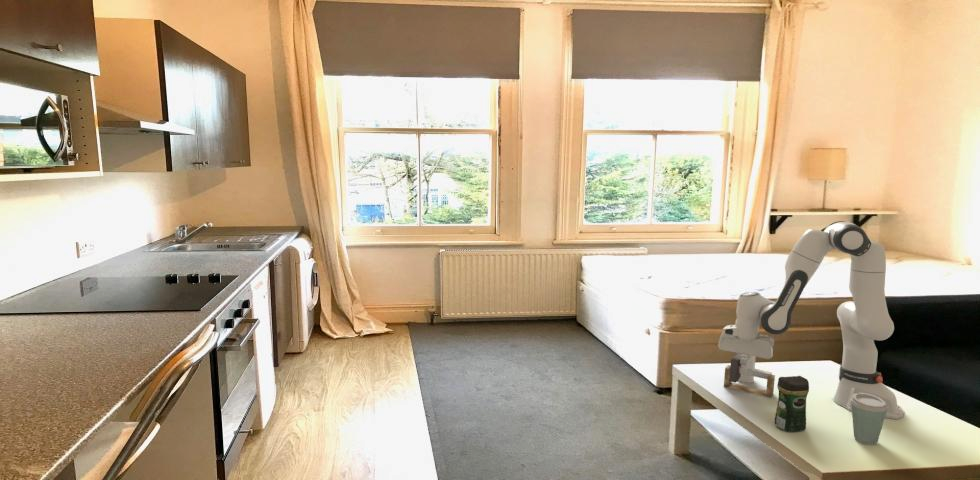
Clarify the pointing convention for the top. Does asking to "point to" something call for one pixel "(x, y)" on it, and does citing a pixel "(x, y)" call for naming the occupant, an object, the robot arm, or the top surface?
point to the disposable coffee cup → (867, 417)
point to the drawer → (767, 392)
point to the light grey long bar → (753, 372)
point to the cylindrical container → (751, 365)
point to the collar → (734, 369)
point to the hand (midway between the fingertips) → (743, 364)
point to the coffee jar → (792, 403)
